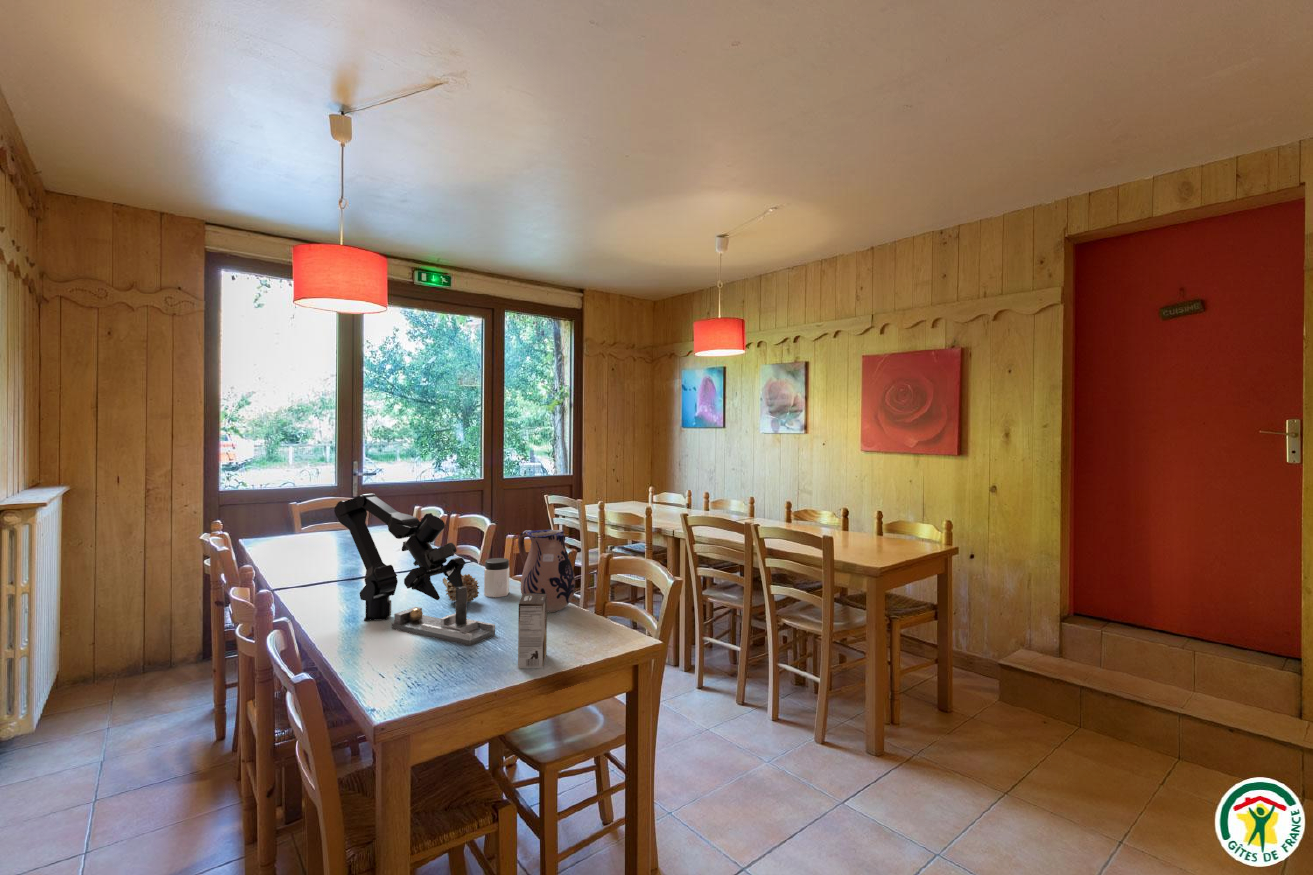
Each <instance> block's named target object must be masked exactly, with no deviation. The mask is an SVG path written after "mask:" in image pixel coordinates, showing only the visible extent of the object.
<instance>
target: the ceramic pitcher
mask: <svg viewBox="0 0 1313 875" xmlns="http://www.w3.org/2000/svg"><path fill="white" fill-rule="evenodd" d="M564 532H565V531H564V530H562V529H538V530H527V529H526V530H524V531H522V532H521V533H520V535H519V536H518V538H517V546H518V547H517V548H518V552H519V553H518V554H519V555H520V559H521V562H522V564H523V570H522V573H521V578H520V592H521V595H522V594H527V593H535V594H547V613H554V612H558V611H562V610H563V609H565V607H567V606H569V604H570V602H571V601H572V600H573V597H574V594H575V590H576V576H575V572H574V569H573V566H572V562H571V559H570V555H569V553H568V550H567V547H566V542H565V541H566V538H567V535H566V534H565V533H564ZM526 537H528V538H529V539H530V547H529V550H528V553H527V552H526V551H527V550H526V546H525V538H526Z"/></svg>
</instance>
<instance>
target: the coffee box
mask: <svg viewBox="0 0 1313 875" xmlns="http://www.w3.org/2000/svg"><path fill="white" fill-rule="evenodd" d="M547 613H548V612H547V594H535V593H527V594H522V593H521V597H520V600H519V602H518V626H517V627H518V628H517V629H518V633H517V634H518V635H517V639H518V640H517V647H518V648H517V669H543V668H544V666H545V662H546V657H547V652H548V650H547V649H548V648H547V647H548V645H547V641H548V640H547V639H548V637H547V634H548V633H547V632H548V630H547V628H548V627H547V625H548V623H547V622H548V621H547V617H548V614H547Z"/></svg>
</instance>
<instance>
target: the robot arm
mask: <svg viewBox="0 0 1313 875" xmlns="http://www.w3.org/2000/svg"><path fill="white" fill-rule="evenodd" d="M333 511H334V514H335V517H336V518H337V520H338V522H339V523H340V524H341V525H342V526H344V527H345V528H346V529H348V531H349V533H350V535H351V537H352V540H353V542H354V544H355V546H356V547H355V548H356V549H357V551H358V554H359V556H360V558H361V561H362V563H363V565H364V567H365V575H364V583H365V584H364V587H363V588H362V589H361V590H360V592H359V598H360V600H361V601H365V617H364V619H363V621H364V622H366V621H367V622H368V621H385V620H388V619H389V617H390V616H391V615H392V600H390V598H391V597H390V596H394V595H395V593H396V590H397V586H398V575H397V573H396V572H395V569H394V566H393V565H392V564H388V565H386V564H385V563H384V561H383V560H382V557H381V555H380V553H379V551H378V549H377V546H376V543H375V540H374V539H373V537H372V535H371V532H370V530H369V528H368V525H367V522H366V521H367V517H368V513H370V514H371V515H372V516H373V517H375V518H377V519H378V520H380V521H381V522H383V523H384V524H385V525H386V526H387V529H388V532H389V533H390V534H391V535H392V536H393V537H394V538H395V539H398V540H400V539H406V538H408V539H407V540H406V541H402V545H401V552H406V551H408V552H409V553H410V554H411V556H412V558H413V560H414V562H413V566H415V567H414V568H412V569H411V570H410V571H409V573H408V574H406V576H405V577H404V578H403V584H404V586H405V587H406V588H407V589H411V590H416V591H418V592H420V593H421V594H424V595H426V596H428V597H430V598H432V599H433V600H435V601H439V600H440V599H441V596H440V594H439V593H438V591H437V589H436V588H435V586H434V584H433V583H432V580H431V577H434V576H436V575H441V574H443V575H444V576H445V577H446V580H448V581H447V582H450V583H451V584H452V585H453V586H455V587H460V586H463V582H462V578H461V574H462V570H463V568H465V567H464V566H465V565H466V564H467V563H466V561H465V559H464V558H463V557H454V556H455V553H457V547H456V545H455V544H454V543H453V542H448V543H446V544H444V546H440V547H438V548H437V547H435V548H433V547H432V545H431V543H434V542H435V541H436V539H437V538H438V537H439V535H440V534H441V533H442V532H443V530H445V527H446V524H445V521H444V520H443V519H441V517H438V516H436V515H433V512H429V513H425V514H424V516H423V517H422V519H421V520H419V518H417V517H416V516H414V515H411V514H408V513H402V512H399V511H398V510H396V509H394V508H393V507H392V506H390V505H389V504H387V503H386V502H384V500H382V499H380V498H379V497H378V496H377V495H376V494H375V493H365V494H364V493H363V494H360V495H357V496H355V497H353V498H350V499H347V500H340V501H338V502H337V503H336V505H335V507H334V510H333ZM451 557H454V558H451ZM448 558H451V559H450V560H449V561H448V562H447V560H448ZM446 562H447V563H446ZM445 563H446V564H445ZM444 564H445V565H444ZM417 566H418V567H417Z"/></svg>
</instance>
